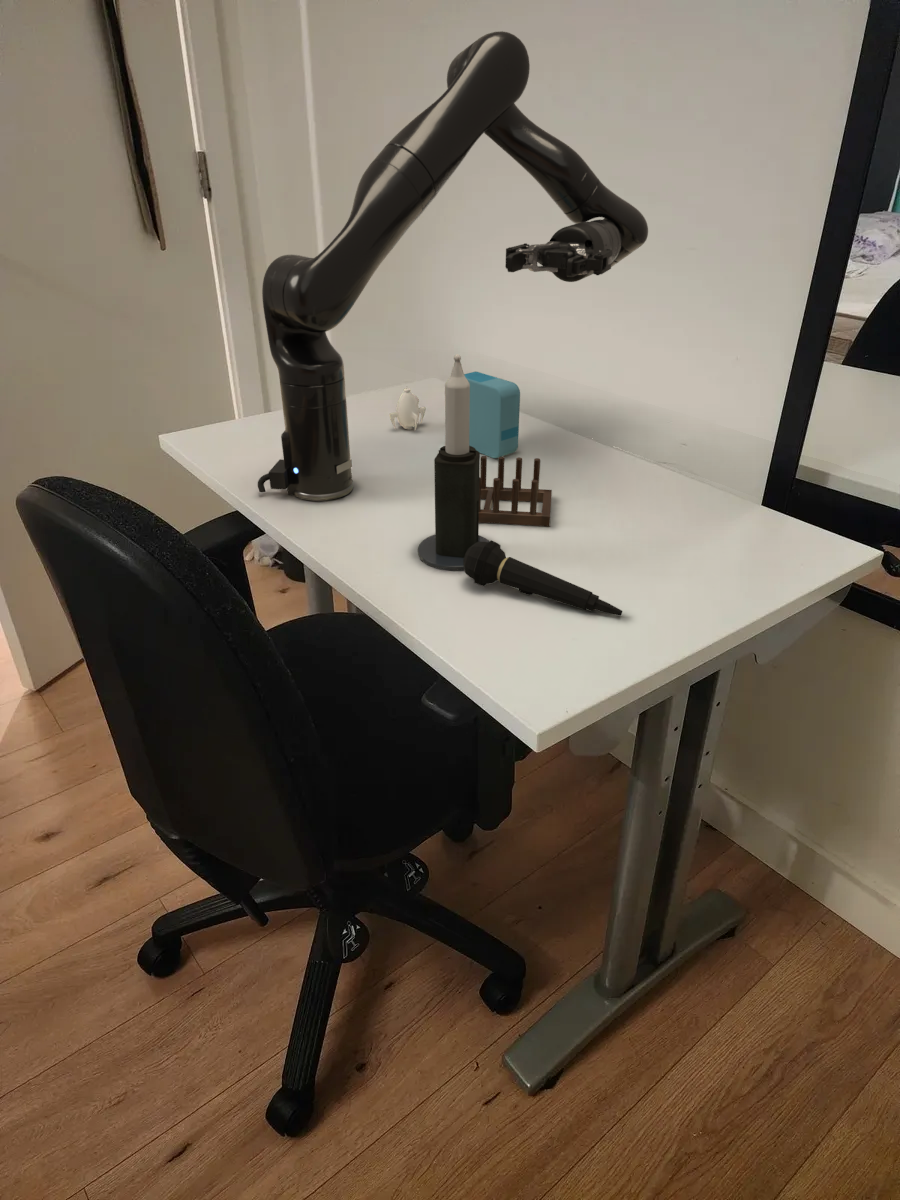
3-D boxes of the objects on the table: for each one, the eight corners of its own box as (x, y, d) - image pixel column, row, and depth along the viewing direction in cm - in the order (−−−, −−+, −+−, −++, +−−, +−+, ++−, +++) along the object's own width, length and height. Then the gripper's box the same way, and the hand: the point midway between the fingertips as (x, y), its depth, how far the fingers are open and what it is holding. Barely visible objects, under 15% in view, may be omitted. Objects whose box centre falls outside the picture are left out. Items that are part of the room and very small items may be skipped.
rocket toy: (426, 424, 149) (425, 382, 145) (418, 433, 145) (417, 390, 141) (398, 422, 150) (397, 379, 146) (389, 431, 146) (388, 388, 142)
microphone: (619, 631, 94) (469, 574, 101) (634, 585, 92) (480, 531, 99) (607, 641, 89) (451, 581, 96) (624, 594, 88) (463, 536, 94)
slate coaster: (411, 568, 101) (411, 564, 101) (424, 533, 110) (424, 529, 110) (490, 573, 100) (490, 568, 100) (496, 537, 109) (497, 533, 108)
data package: (518, 454, 136) (521, 384, 129) (499, 461, 133) (501, 389, 127) (470, 436, 143) (471, 369, 137) (451, 442, 141) (451, 374, 135)
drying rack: (450, 521, 113) (450, 478, 110) (458, 494, 121) (458, 454, 118) (549, 526, 112) (552, 483, 108) (551, 499, 120) (554, 458, 116)
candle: (472, 558, 102) (475, 361, 89) (433, 554, 103) (430, 358, 90) (479, 541, 106) (483, 350, 94) (442, 537, 107) (440, 348, 95)
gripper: (537, 220, 120) (491, 232, 107) (630, 225, 114) (592, 238, 102) (534, 274, 124) (490, 291, 111) (624, 281, 118) (587, 300, 106)
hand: (539, 266), depth 106 cm, fingers open, 8 cm apart
